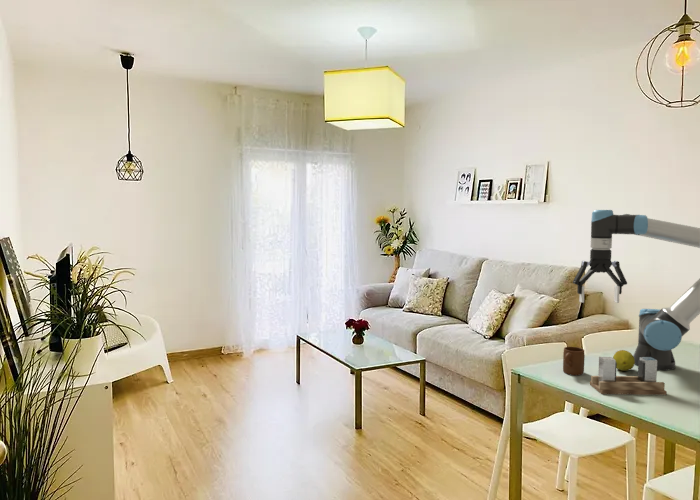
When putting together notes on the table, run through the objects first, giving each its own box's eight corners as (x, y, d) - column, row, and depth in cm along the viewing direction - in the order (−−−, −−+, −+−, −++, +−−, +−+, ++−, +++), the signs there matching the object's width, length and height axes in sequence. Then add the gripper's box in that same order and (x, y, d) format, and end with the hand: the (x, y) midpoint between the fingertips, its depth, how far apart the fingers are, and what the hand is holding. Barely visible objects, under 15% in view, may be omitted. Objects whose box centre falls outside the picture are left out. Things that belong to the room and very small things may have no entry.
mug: (576, 380, 197) (576, 355, 196) (555, 375, 202) (556, 351, 201) (586, 372, 206) (587, 348, 205) (566, 368, 211) (567, 345, 210)
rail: (651, 385, 191) (651, 375, 191) (666, 394, 181) (667, 384, 181) (589, 384, 192) (589, 374, 191) (601, 394, 182) (601, 383, 181)
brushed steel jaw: (611, 384, 188) (612, 356, 188) (616, 388, 184) (617, 360, 184) (598, 384, 189) (599, 356, 188) (602, 387, 185) (603, 359, 184)
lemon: (614, 365, 215) (614, 346, 214) (635, 368, 210) (636, 349, 210) (609, 372, 206) (610, 352, 205) (632, 376, 201) (633, 355, 201)
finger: (649, 384, 188) (651, 357, 187) (656, 388, 184) (657, 360, 183) (636, 384, 188) (638, 357, 187) (642, 388, 184) (643, 360, 183)
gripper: (572, 249, 204) (570, 303, 206) (638, 249, 203) (635, 304, 205) (565, 248, 212) (563, 300, 213) (628, 248, 211) (626, 300, 212)
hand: (599, 302), depth 209 cm, fingers open, 13 cm apart
